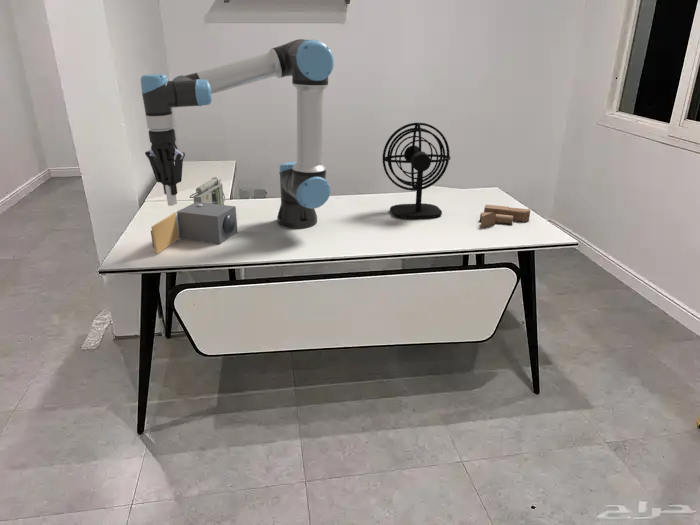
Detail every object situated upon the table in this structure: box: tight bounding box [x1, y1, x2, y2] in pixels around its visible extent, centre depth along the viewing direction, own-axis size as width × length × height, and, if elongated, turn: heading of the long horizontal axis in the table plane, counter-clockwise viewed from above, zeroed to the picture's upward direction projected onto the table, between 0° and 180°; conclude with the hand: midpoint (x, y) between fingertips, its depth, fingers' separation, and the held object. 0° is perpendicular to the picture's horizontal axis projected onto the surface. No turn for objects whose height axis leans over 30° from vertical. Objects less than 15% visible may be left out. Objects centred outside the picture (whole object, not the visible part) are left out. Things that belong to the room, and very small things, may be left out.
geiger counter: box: [189, 175, 226, 205], centre depth 214 cm, size 14×6×25 cm
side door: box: [150, 211, 180, 254], centre depth 182 cm, size 15×2×9 cm, turn 168°
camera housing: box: [176, 202, 239, 245], centre depth 191 cm, size 17×12×11 cm
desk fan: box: [382, 122, 451, 219], centre depth 212 cm, size 27×18×35 cm, turn 97°
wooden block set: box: [479, 204, 531, 229], centre depth 207 cm, size 17×6×18 cm
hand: (172, 204), depth 172 cm, fingers closed
